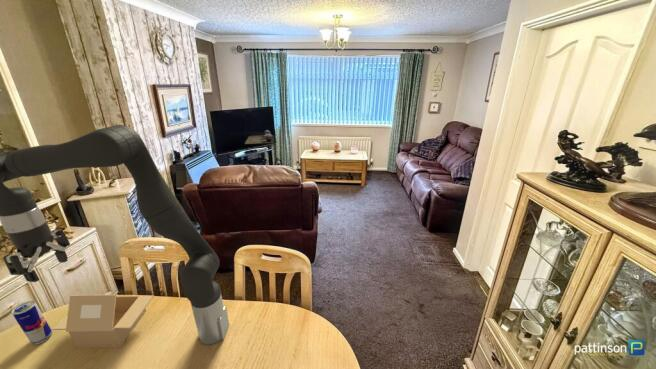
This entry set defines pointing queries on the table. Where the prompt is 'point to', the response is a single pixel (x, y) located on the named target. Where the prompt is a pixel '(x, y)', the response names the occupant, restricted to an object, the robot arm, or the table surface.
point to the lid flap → (91, 313)
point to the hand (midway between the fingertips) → (49, 270)
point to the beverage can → (32, 322)
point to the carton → (124, 323)
